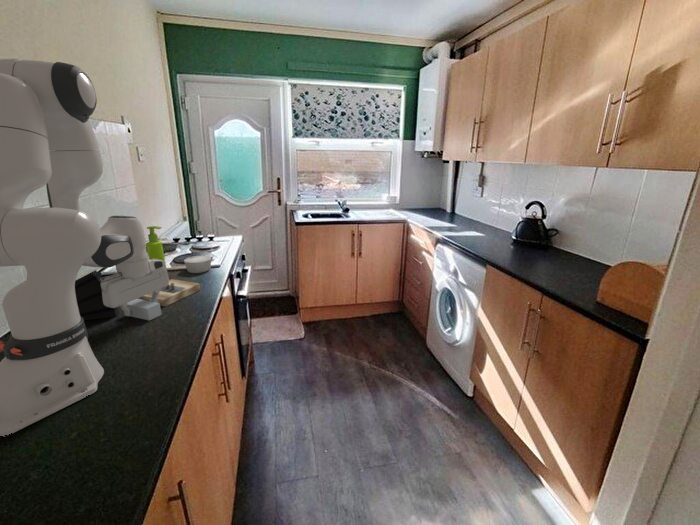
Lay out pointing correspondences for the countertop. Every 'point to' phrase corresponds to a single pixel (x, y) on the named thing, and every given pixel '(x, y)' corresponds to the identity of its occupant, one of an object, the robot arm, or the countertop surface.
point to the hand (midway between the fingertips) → (142, 308)
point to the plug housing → (144, 309)
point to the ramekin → (198, 264)
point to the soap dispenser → (155, 245)
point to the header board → (174, 292)
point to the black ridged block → (92, 298)
